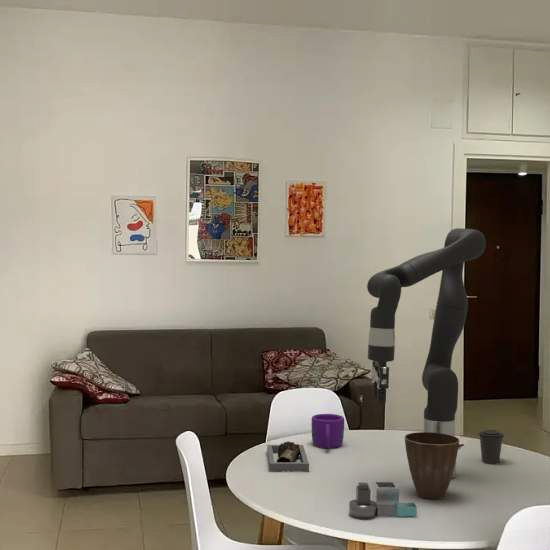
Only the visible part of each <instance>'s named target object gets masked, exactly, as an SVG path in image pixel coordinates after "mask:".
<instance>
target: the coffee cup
mask: <svg viewBox="0 0 550 550" xmlns="http://www.w3.org/2000/svg"><path fill="white" fill-rule="evenodd" d="M478 436H479V442H480V452H481V453H480V454H481V462H482V463H483V462H484V464H487V465H498V464H499V463H500V458H501V452H502V445H503V438H504V437H505V434H504V433H503V432H501V431H497V430H495V429H486V430H485V429H484V430H480V431H479V432H478ZM497 463H498V464H497Z"/></svg>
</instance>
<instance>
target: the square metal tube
mask: <svg viewBox="0 0 550 550" xmlns="http://www.w3.org/2000/svg"><path fill="white" fill-rule="evenodd" d="M371 500H372V501H374V502H376V503H377V505H395V503H400V488H399V485H398V484H397V483H396V481H388V480H387V481H383V480H382V481H372V499H371Z"/></svg>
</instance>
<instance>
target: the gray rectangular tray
mask: <svg viewBox="0 0 550 550" xmlns="http://www.w3.org/2000/svg"><path fill="white" fill-rule="evenodd" d="M279 445H280V444H267V445H266V453H267V454H268V455H267V454H266V455H267V461H268V462H269V463H268V462H267V463H268V469H269V470H270V471H269V472H270V473H271V472H272V473H277V472H278V473H280V472H281V473H283V472H282V471H285V472H286V473H288V472H287V471H309V472H310V463H309V459H308V456H307V453H306V450H305V447H304V444H298V445H299V448H300V456H299V459H300V462H297V461H296V462H295V461H294V462H277V461H276V462H275V457H274V456H275V455H274V454H278V448H279ZM285 472H284V473H285Z"/></svg>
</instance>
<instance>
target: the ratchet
mask: <svg viewBox="0 0 550 550" xmlns="http://www.w3.org/2000/svg"><path fill="white" fill-rule="evenodd" d="M355 492H356V493H355V499H352V500H350V501H349V503H348V508H349V509H348V511H349V512H348V515H349V517H350V518H353V519H357V520H363V521H367V520H373V518H374V519H375V517H376V518H377V516H418V515H417V514H418V507H417V505H416V503H415V502H399V503H395V505H377V503H376V502H374V501H373V500H372V499H371V492H372V489H371V488H370V485H369V483H368V482H358V483H357V485H356V486H355Z"/></svg>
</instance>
